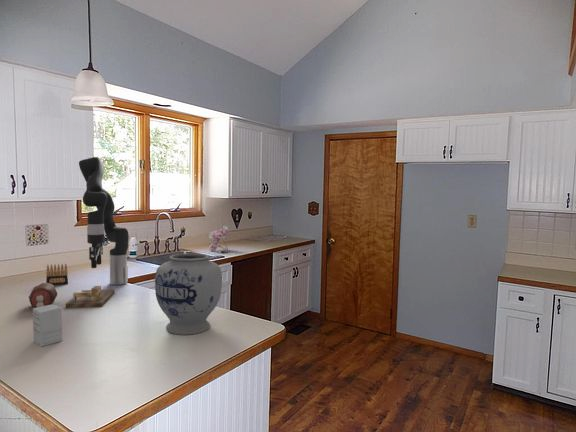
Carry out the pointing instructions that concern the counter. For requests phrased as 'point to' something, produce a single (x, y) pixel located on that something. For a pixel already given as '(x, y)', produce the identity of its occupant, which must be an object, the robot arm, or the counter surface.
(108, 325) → the counter surface
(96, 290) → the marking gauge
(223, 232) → the flower
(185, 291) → the apothecary jar
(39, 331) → the supplement box
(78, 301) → the walnut board
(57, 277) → the ammunition clip
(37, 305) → the meat
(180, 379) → the counter surface
